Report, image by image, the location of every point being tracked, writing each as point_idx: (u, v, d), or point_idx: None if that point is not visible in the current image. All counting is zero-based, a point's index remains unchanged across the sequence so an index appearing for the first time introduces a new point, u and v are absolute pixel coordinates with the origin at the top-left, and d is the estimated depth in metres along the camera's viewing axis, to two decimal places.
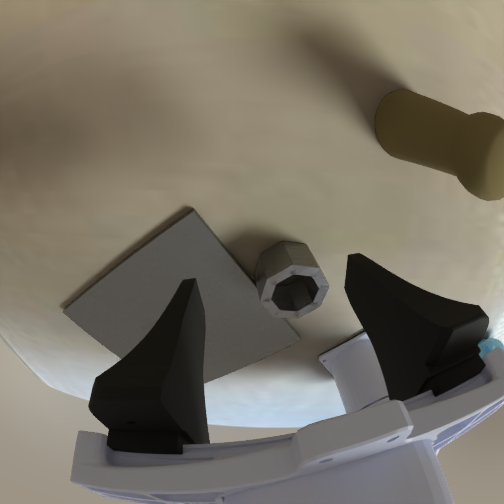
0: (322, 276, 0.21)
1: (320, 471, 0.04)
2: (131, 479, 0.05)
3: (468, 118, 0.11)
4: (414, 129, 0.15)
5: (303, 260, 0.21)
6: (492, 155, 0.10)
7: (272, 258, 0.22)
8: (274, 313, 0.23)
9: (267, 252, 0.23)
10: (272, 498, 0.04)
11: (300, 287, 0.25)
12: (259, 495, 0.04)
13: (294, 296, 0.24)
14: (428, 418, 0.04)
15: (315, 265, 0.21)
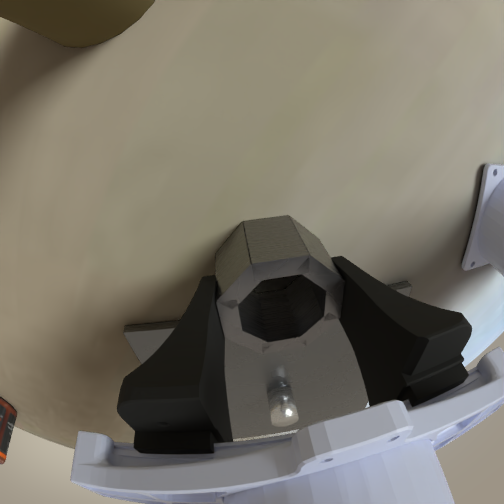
0: (276, 262, 0.10)
1: (320, 471, 0.04)
2: (131, 479, 0.05)
3: None
4: (12, 21, 0.04)
5: (231, 270, 0.11)
6: None
7: None
8: (300, 343, 0.13)
9: None
10: (272, 498, 0.04)
11: None
12: (259, 494, 0.04)
13: (313, 288, 0.13)
14: (428, 418, 0.04)
15: (246, 262, 0.10)
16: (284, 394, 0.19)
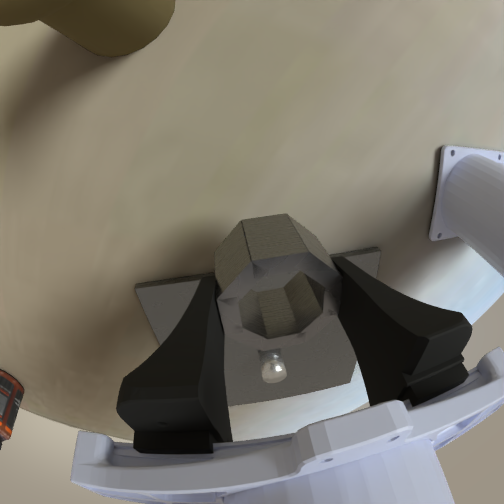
0: (275, 259, 0.10)
1: (320, 471, 0.04)
2: (131, 479, 0.05)
3: None
4: (67, 35, 0.07)
5: (231, 268, 0.11)
6: None
7: None
8: (300, 340, 0.13)
9: None
10: (272, 498, 0.04)
11: None
12: (259, 494, 0.04)
13: (311, 285, 0.14)
14: (428, 418, 0.04)
15: (246, 260, 0.11)
16: (273, 352, 0.23)
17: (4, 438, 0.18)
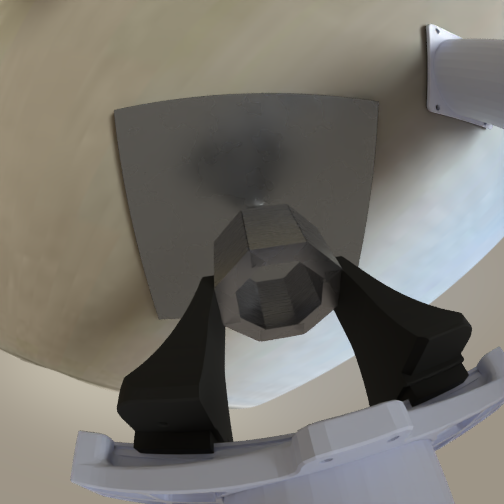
0: (273, 249, 0.10)
1: (320, 471, 0.04)
2: (131, 479, 0.05)
3: None
4: None
5: (229, 257, 0.11)
6: None
7: None
8: (298, 331, 0.13)
9: None
10: (272, 498, 0.04)
11: None
12: (259, 495, 0.04)
13: (310, 276, 0.14)
14: (428, 418, 0.04)
15: (244, 249, 0.11)
16: None
17: None
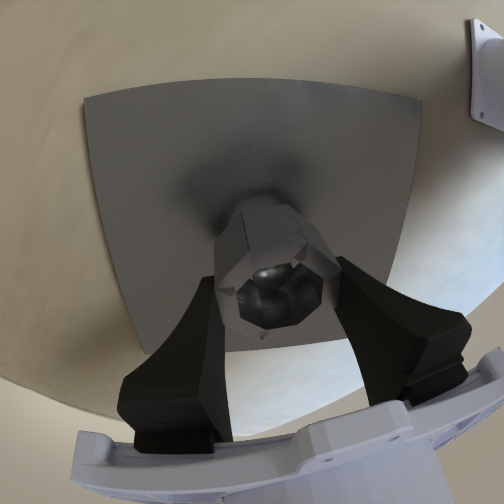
0: (273, 249, 0.10)
1: (320, 471, 0.04)
2: (131, 479, 0.05)
3: None
4: None
5: (229, 257, 0.11)
6: None
7: None
8: (298, 331, 0.13)
9: None
10: (272, 498, 0.04)
11: None
12: (259, 495, 0.04)
13: (310, 277, 0.14)
14: (428, 418, 0.04)
15: (244, 250, 0.11)
16: None
17: None
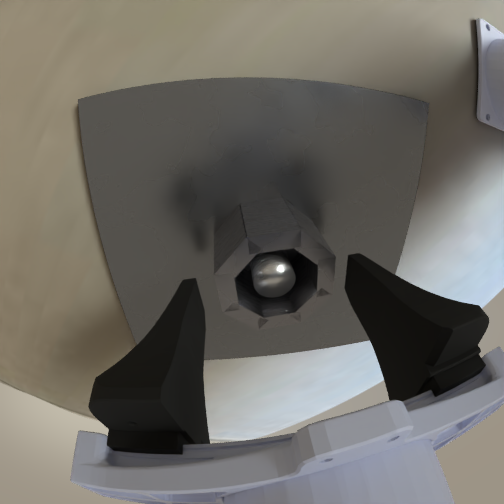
0: (269, 236, 0.11)
1: (320, 471, 0.04)
2: (131, 479, 0.05)
3: None
4: None
5: (229, 245, 0.12)
6: None
7: None
8: (295, 320, 0.14)
9: None
10: (272, 498, 0.04)
11: None
12: (259, 494, 0.04)
13: (306, 267, 0.14)
14: (428, 418, 0.04)
15: (242, 237, 0.11)
16: None
17: None
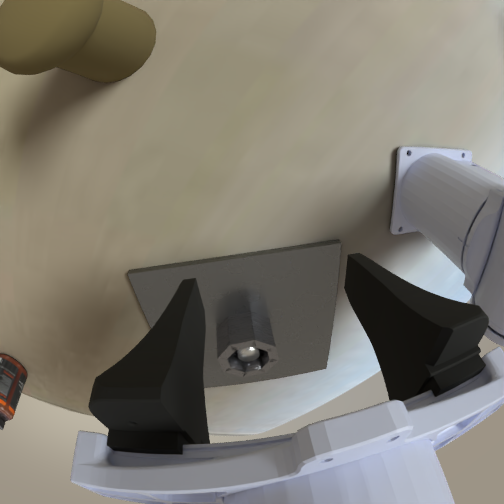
0: (240, 343, 0.23)
1: (320, 471, 0.04)
2: (131, 479, 0.05)
3: None
4: None
5: (223, 344, 0.24)
6: (3, 54, 0.05)
7: None
8: (261, 371, 0.25)
9: None
10: (272, 498, 0.04)
11: None
12: (259, 494, 0.04)
13: None
14: (428, 418, 0.04)
15: (228, 343, 0.23)
16: None
17: (7, 417, 0.22)
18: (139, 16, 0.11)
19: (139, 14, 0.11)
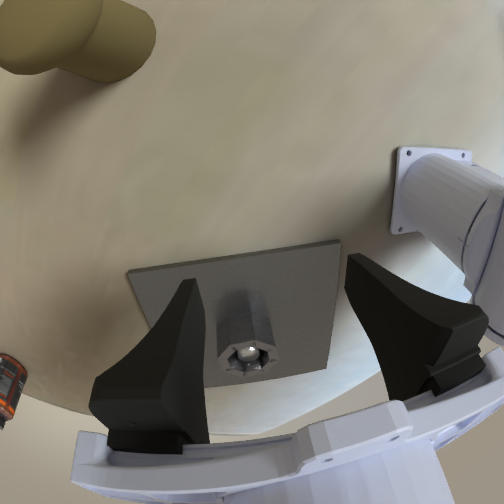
0: (240, 343, 0.23)
1: (320, 471, 0.04)
2: (131, 479, 0.05)
3: None
4: None
5: (223, 344, 0.24)
6: (3, 54, 0.05)
7: None
8: (261, 371, 0.25)
9: None
10: (272, 498, 0.04)
11: None
12: (259, 494, 0.04)
13: None
14: (428, 418, 0.04)
15: (228, 343, 0.23)
16: None
17: (7, 417, 0.22)
18: (139, 16, 0.11)
19: (139, 14, 0.11)
